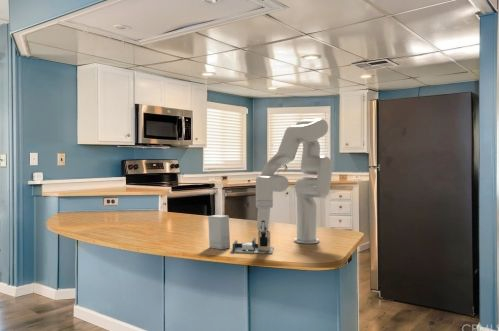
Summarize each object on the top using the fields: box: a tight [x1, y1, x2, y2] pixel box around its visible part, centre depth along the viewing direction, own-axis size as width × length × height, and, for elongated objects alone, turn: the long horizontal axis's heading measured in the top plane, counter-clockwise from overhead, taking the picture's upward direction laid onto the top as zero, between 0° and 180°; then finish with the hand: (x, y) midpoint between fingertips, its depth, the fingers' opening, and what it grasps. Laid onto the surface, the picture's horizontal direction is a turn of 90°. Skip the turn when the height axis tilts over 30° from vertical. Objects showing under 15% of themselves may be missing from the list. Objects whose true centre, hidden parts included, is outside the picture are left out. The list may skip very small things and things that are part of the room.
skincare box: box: [207, 214, 231, 250], centre depth 195 cm, size 8×6×15 cm
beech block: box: [257, 229, 271, 251], centre depth 189 cm, size 5×5×8 cm
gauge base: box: [230, 240, 275, 255], centre depth 190 cm, size 12×18×4 cm, turn 83°
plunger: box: [242, 237, 257, 251], centre depth 189 cm, size 9×6×4 cm, turn 173°
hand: (264, 244), depth 189 cm, fingers open, 5 cm apart
